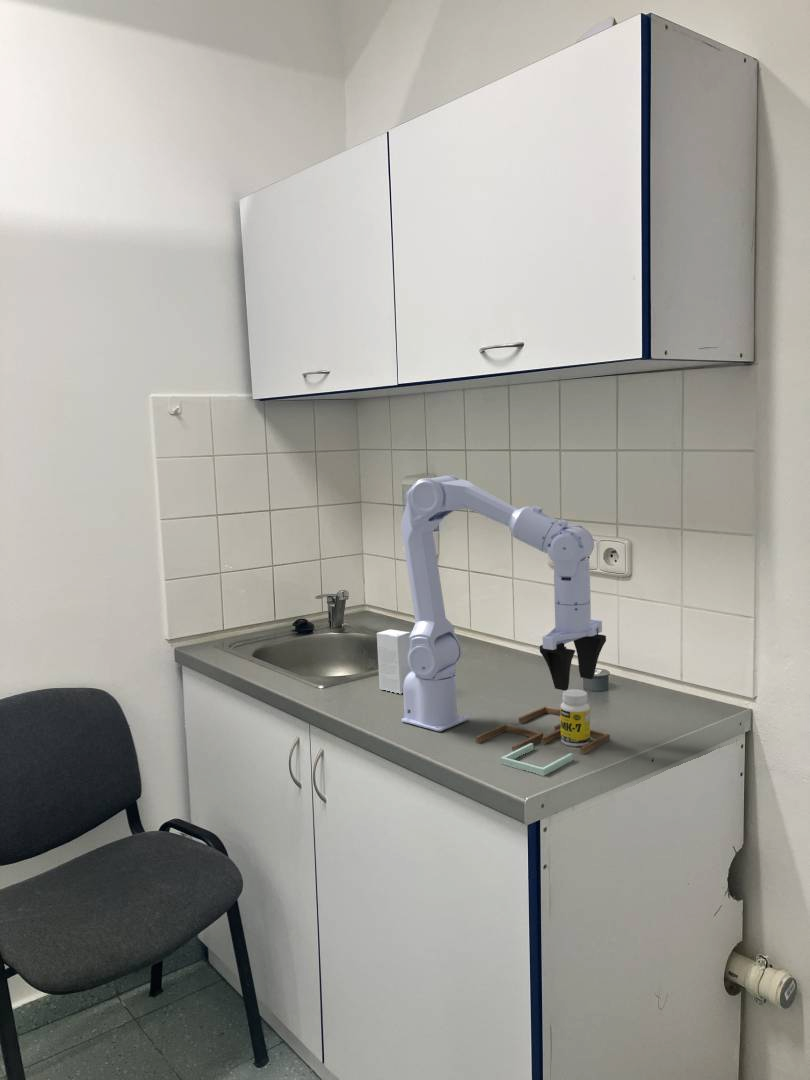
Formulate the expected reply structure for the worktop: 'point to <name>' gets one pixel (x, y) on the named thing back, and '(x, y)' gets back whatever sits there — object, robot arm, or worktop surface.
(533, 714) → the stall left
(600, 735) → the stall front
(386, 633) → the skincare box
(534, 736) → the frame
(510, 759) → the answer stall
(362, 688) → the worktop surface
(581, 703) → the supplement bottle
